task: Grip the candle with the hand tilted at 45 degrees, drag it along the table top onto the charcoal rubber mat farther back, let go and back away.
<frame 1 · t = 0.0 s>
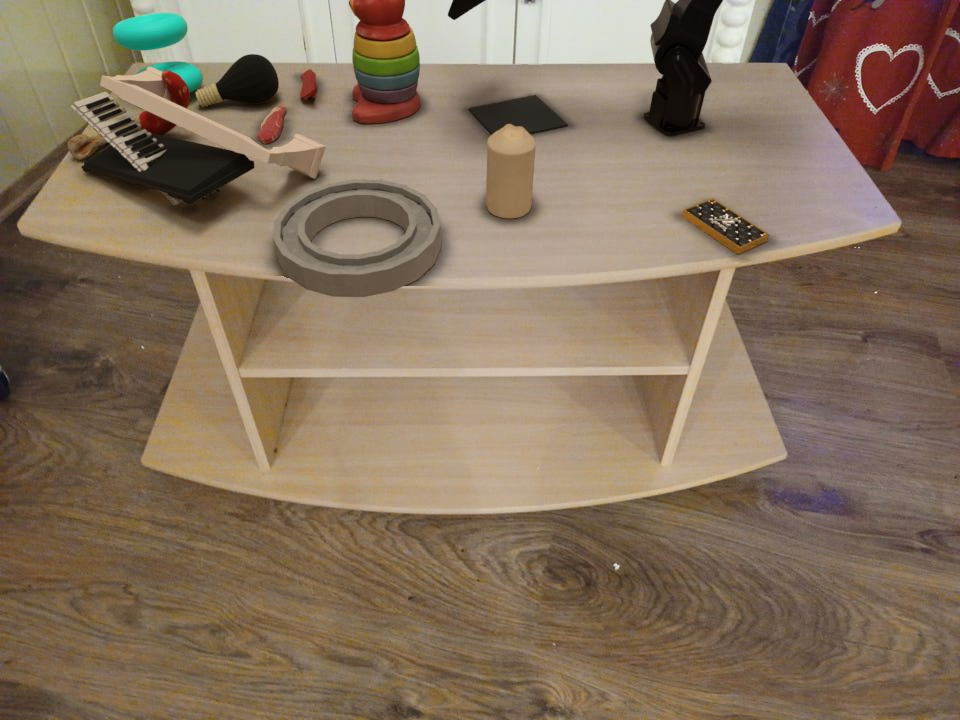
hand: (454, 4, 95), 15 cm above the tv stand, tool tilted 35°, fingers open, 9 cm apart
synthesizer keyboard: (154, 130, 85), point 8 cm above the tv stand, touching vegetable
vegetable: (143, 134, 100), on the tv stand, touching synthesizer keyboard, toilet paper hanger
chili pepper: (305, 82, 109), point 2 cm above the tv stand
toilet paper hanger: (204, 139, 90), point 5 cm above the tv stand, touching vegetable
candle: (508, 207, 89), on the tv stand
mat: (517, 117, 105), on the tv stand
donuts: (194, 48, 107), point 6 cm above the tv stand, touching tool
black flat block: (708, 231, 85), point 1 cm above the tv stand
light bulb: (241, 102, 108), on the tv stand
steak: (284, 123, 102), point 1 cm above the tv stand
mechanical component: (360, 246, 83), on the tv stand
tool: (113, 120, 100), point 2 cm above the tv stand, touching donuts
stacking bear: (387, 107, 107), on the tv stand
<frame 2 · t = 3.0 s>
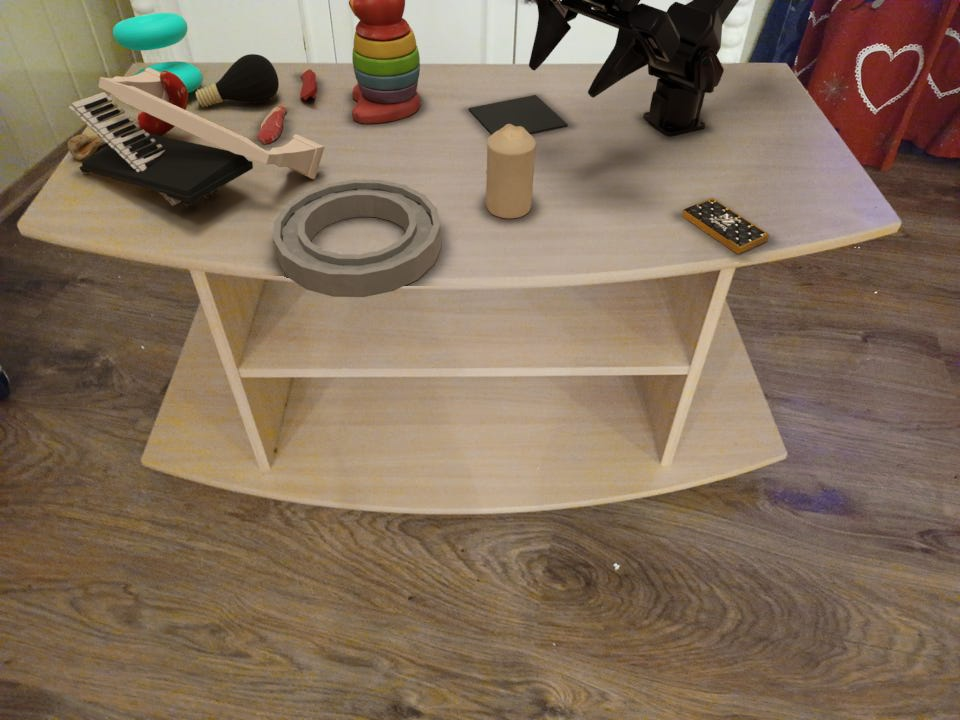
hand: (560, 81, 83), 13 cm above the tv stand, tool tilted 45°, fingers open, 9 cm apart
synthesizer keyboard: (153, 130, 85), point 8 cm above the tv stand, touching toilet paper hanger
vegetable: (142, 135, 99), on the tv stand, touching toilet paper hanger
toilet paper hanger: (203, 140, 90), point 5 cm above the tv stand, touching synthesizer keyboard, vegetable
everything else where it was.
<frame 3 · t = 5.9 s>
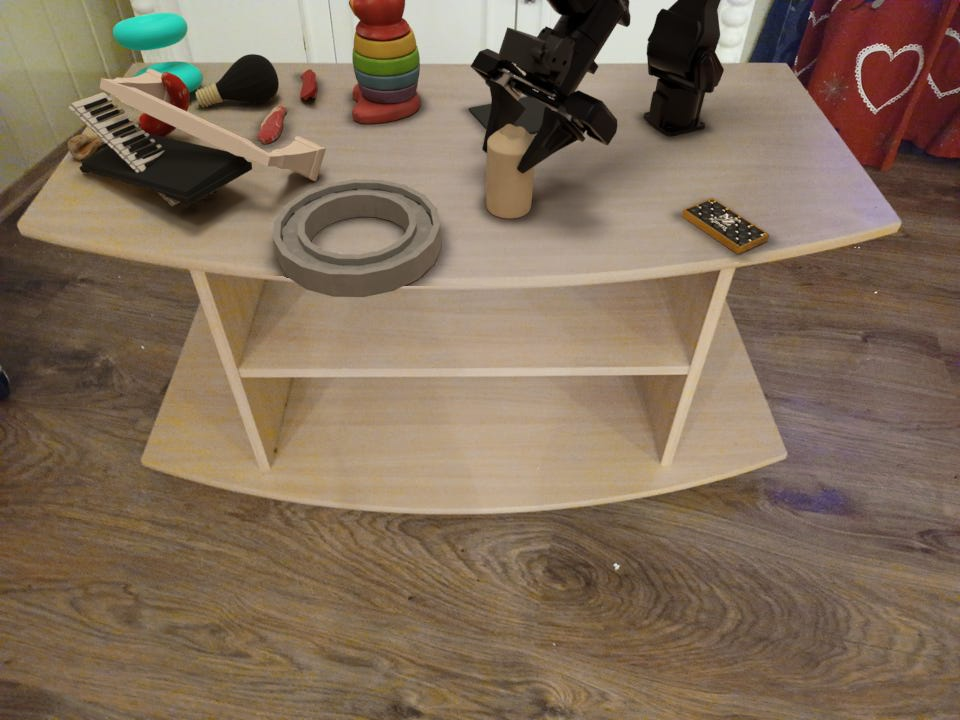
hand: (501, 161, 83), 7 cm above the tv stand, tool tilted 45°, fingers closed on candle, 5 cm apart
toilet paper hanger: (204, 141, 89), point 5 cm above the tv stand, touching synthesizer keyboard, vegetable
candle: (508, 207, 89), on the tv stand, touching gripper
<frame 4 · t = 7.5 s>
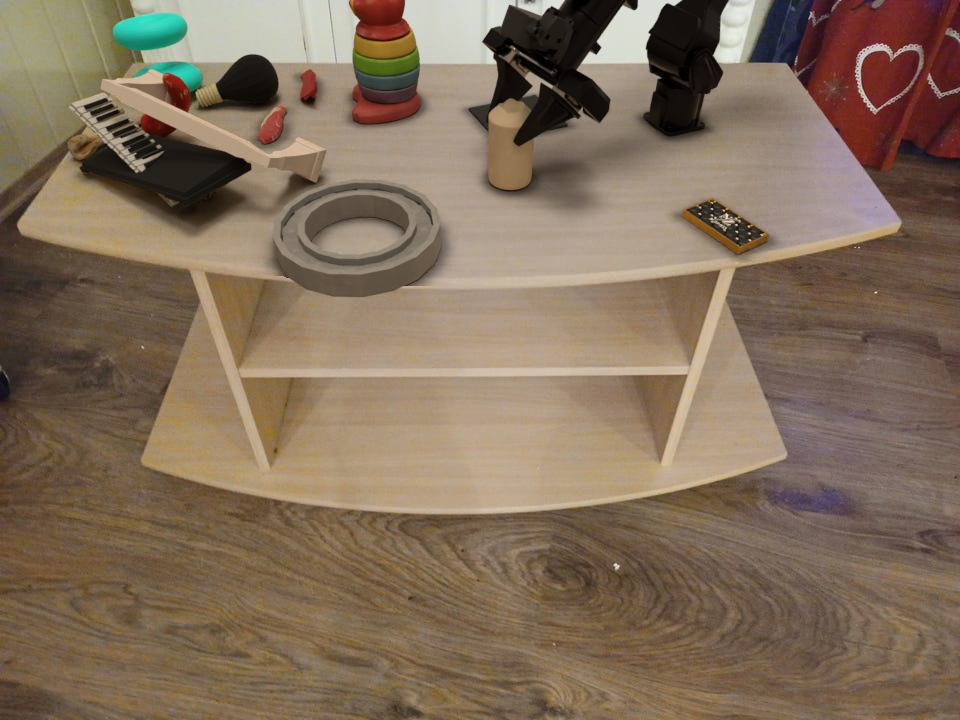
hand: (501, 134, 88), 7 cm above the tv stand, tool tilted 45°, fingers closed on candle, 5 cm apart
candle: (509, 180, 93), on the tv stand, touching gripper
everything else where it was.
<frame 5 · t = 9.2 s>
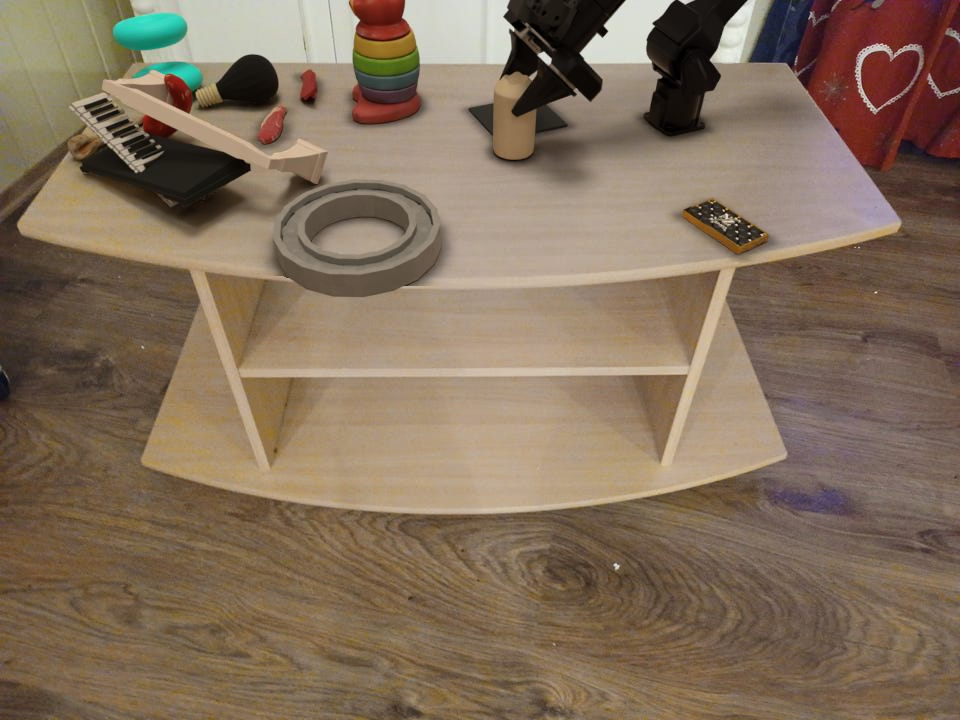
hand: (505, 104, 93), 7 cm above the tv stand, tool tilted 45°, fingers closed on candle, 5 cm apart
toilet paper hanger: (205, 143, 89), point 5 cm above the tv stand, touching synthesizer keyboard, vegetable
candle: (513, 150, 98), on the tv stand, touching gripper
when the fingers open (7 cm above the tv stand, at t = 11.3 s): candle stays where it is, resting on mat.
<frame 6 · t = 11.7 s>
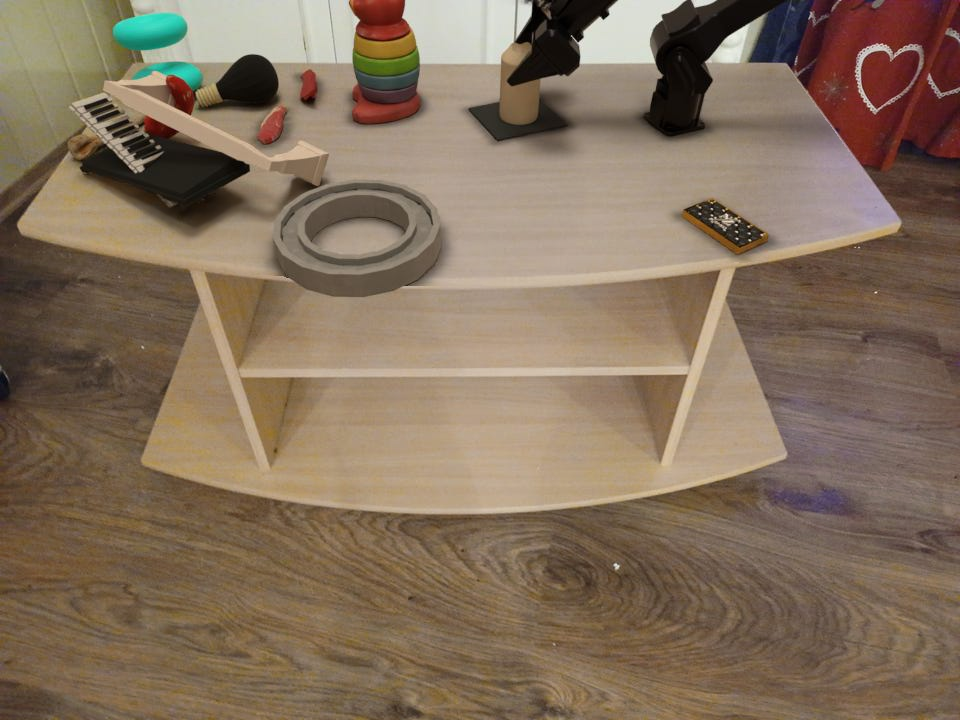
hand: (509, 68, 100), 7 cm above the tv stand, tool tilted 45°, fingers open, 9 cm apart
vegetable: (148, 138, 99), on the tv stand, touching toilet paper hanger
candle: (518, 117, 105), resting on mat
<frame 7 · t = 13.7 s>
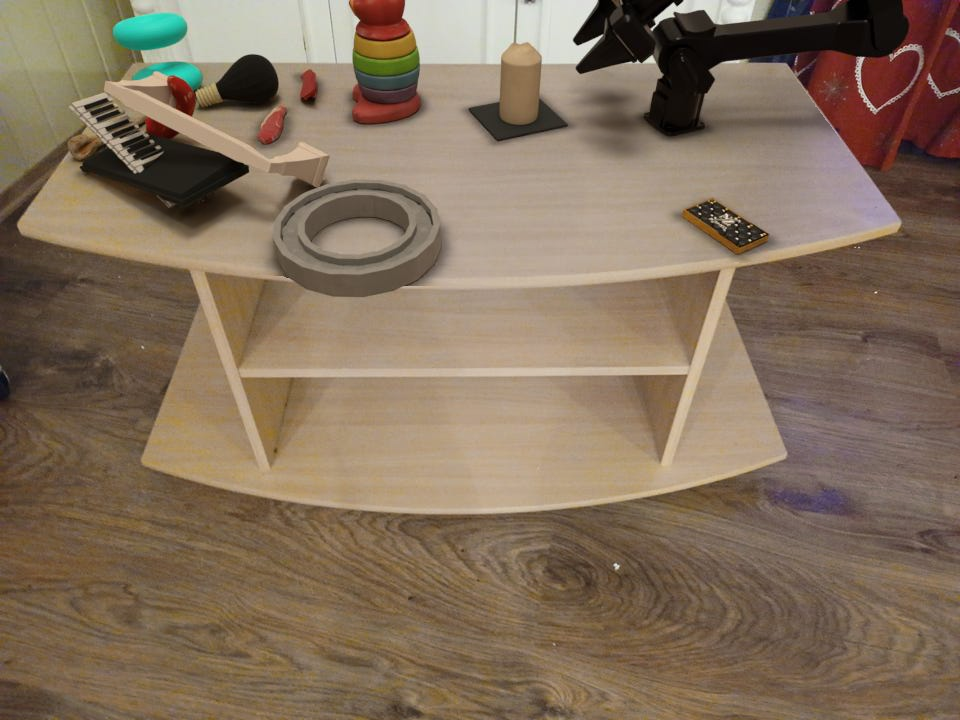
hand: (576, 56, 98), 9 cm above the tv stand, tool tilted 45°, fingers open, 9 cm apart
synthesizer keyboard: (150, 132, 85), point 8 cm above the tv stand
vegetable: (150, 138, 99), on the tv stand, touching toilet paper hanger
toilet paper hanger: (207, 146, 89), point 5 cm above the tv stand, touching vegetable
everything else where it was.
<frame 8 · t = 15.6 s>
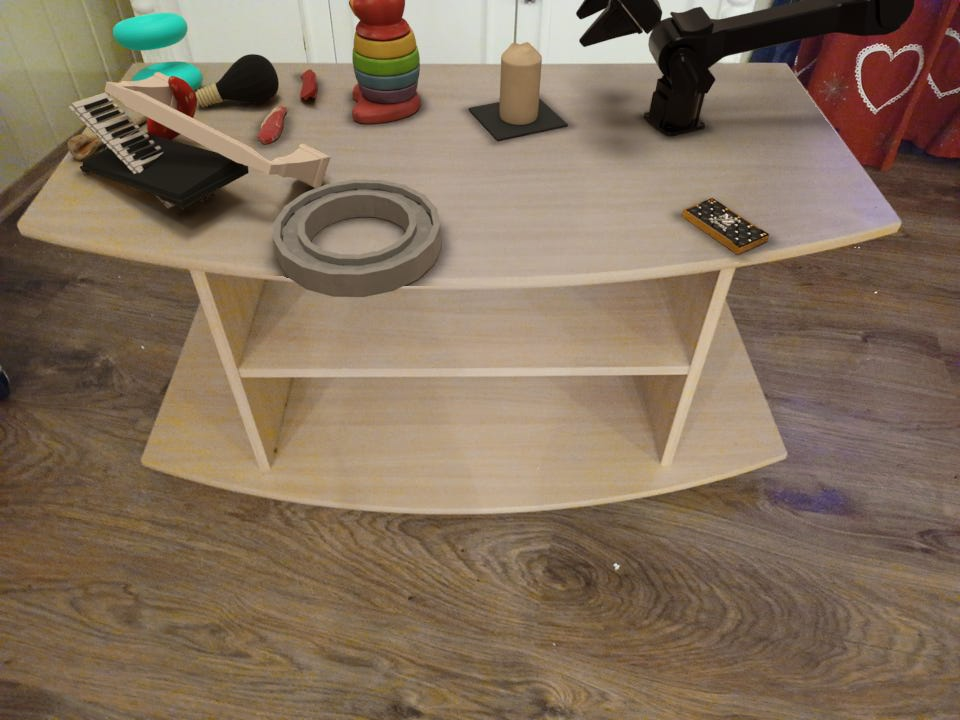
hand: (579, 29, 96), 13 cm above the tv stand, tool tilted 45°, fingers open, 9 cm apart
synthesizer keyboard: (150, 132, 85), point 8 cm above the tv stand, touching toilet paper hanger
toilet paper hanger: (208, 147, 88), point 5 cm above the tv stand, touching synthesizer keyboard, vegetable
at the end: candle inside the target area on the mat (0.2 cm from its centre), point 0.1 cm above the mat's base; candle tilted 0°; the gripper is holding nothing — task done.
